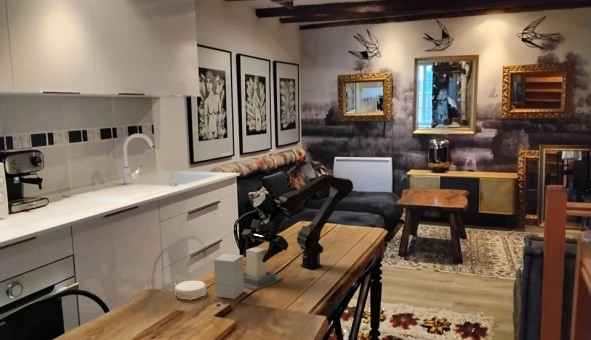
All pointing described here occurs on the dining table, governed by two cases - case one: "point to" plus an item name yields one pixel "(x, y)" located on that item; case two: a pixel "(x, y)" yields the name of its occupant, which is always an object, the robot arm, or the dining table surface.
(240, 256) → the supplement box
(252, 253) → the cream block
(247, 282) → the tray
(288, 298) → the dining table surface
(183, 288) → the white round disc
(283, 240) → the robot arm
